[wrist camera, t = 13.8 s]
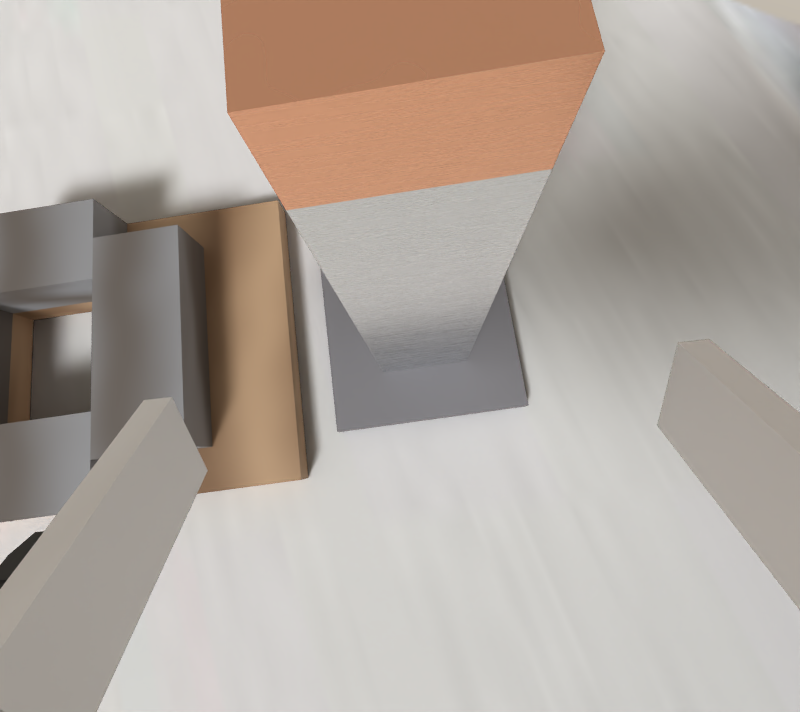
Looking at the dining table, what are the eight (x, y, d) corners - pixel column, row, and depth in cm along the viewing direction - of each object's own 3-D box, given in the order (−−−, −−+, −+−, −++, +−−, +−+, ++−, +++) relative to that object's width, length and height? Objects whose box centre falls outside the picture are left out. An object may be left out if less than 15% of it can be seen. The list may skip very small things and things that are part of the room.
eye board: (285, 212, 24) (260, 172, 21) (308, 477, 21) (284, 484, 18) (-102, 272, 25) (-190, 243, 21) (-131, 537, 22) (-238, 554, 18)
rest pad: (492, 234, 23) (494, 228, 22) (525, 406, 21) (528, 405, 21) (321, 259, 23) (319, 255, 23) (339, 431, 22) (337, 431, 21)
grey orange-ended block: (453, 282, 22) (530, -222, 5) (466, 360, 21) (604, 50, 5) (373, 294, 22) (210, -161, 6) (383, 372, 21) (227, 112, 5)
